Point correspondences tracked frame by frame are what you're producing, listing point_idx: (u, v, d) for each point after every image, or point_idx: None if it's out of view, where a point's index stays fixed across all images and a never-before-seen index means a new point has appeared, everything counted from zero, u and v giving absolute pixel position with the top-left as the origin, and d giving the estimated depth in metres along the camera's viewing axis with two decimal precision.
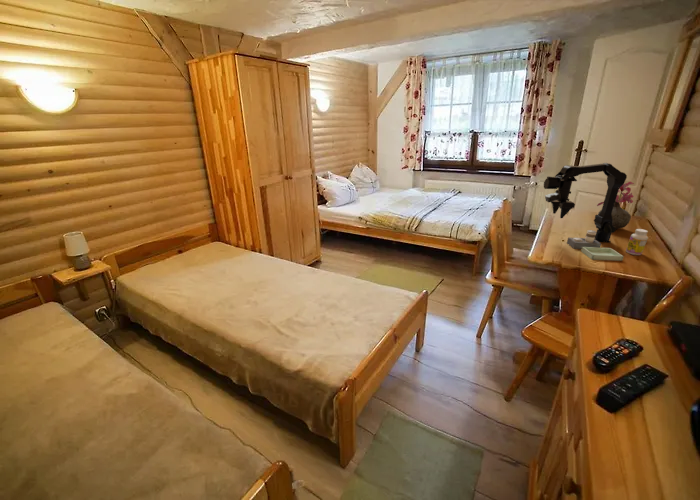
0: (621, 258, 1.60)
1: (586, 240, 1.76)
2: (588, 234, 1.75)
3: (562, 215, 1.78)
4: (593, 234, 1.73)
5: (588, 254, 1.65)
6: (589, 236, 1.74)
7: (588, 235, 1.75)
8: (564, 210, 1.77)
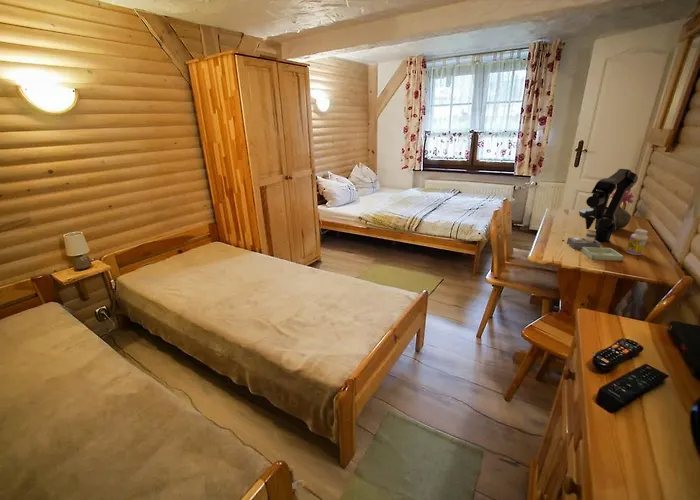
0: (621, 258, 1.60)
1: (586, 240, 1.76)
2: (588, 234, 1.75)
3: (598, 232, 1.69)
4: (593, 234, 1.73)
5: (588, 254, 1.65)
6: (589, 236, 1.74)
7: (588, 235, 1.75)
8: (600, 226, 1.68)
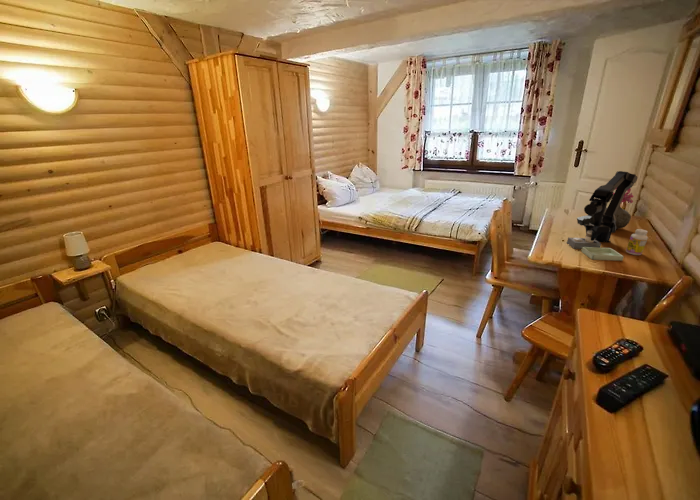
0: (621, 258, 1.60)
1: (586, 240, 1.76)
2: (588, 234, 1.75)
3: (593, 237, 1.73)
4: None
5: (588, 254, 1.65)
6: (589, 236, 1.74)
7: (588, 235, 1.75)
8: (595, 232, 1.71)
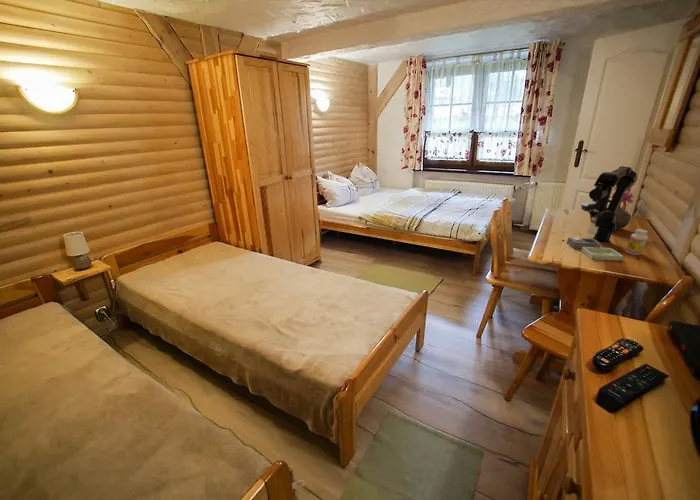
0: (621, 258, 1.60)
1: (590, 227, 1.73)
2: (593, 221, 1.71)
3: (597, 224, 1.70)
4: None
5: (588, 254, 1.65)
6: (593, 222, 1.71)
7: (592, 221, 1.71)
8: (600, 218, 1.68)
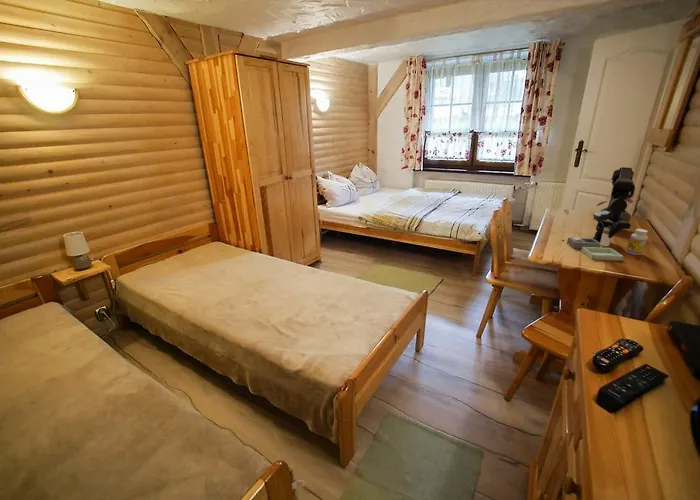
0: (621, 258, 1.60)
1: (603, 237, 1.62)
2: (606, 231, 1.60)
3: (611, 235, 1.59)
4: None
5: (588, 254, 1.65)
6: (606, 233, 1.60)
7: (605, 232, 1.61)
8: (614, 229, 1.57)
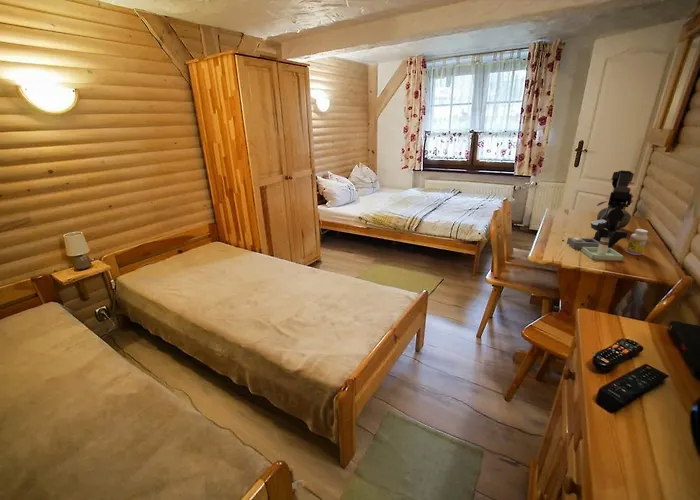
0: (621, 258, 1.60)
1: (599, 248, 1.64)
2: (602, 242, 1.63)
3: (610, 245, 1.59)
4: (607, 242, 1.61)
5: (588, 254, 1.65)
6: (602, 243, 1.63)
7: (602, 243, 1.63)
8: (613, 239, 1.57)
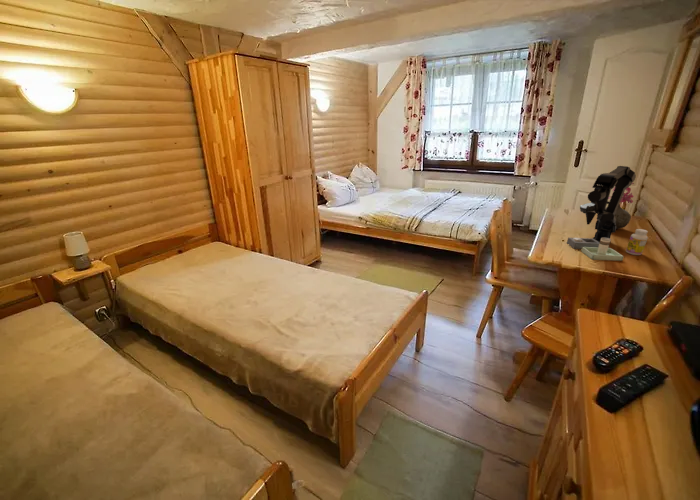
0: (621, 258, 1.60)
1: (600, 248, 1.64)
2: (602, 242, 1.63)
3: (599, 227, 1.66)
4: (607, 242, 1.61)
5: (588, 254, 1.65)
6: (603, 243, 1.63)
7: (602, 243, 1.63)
8: (602, 222, 1.64)
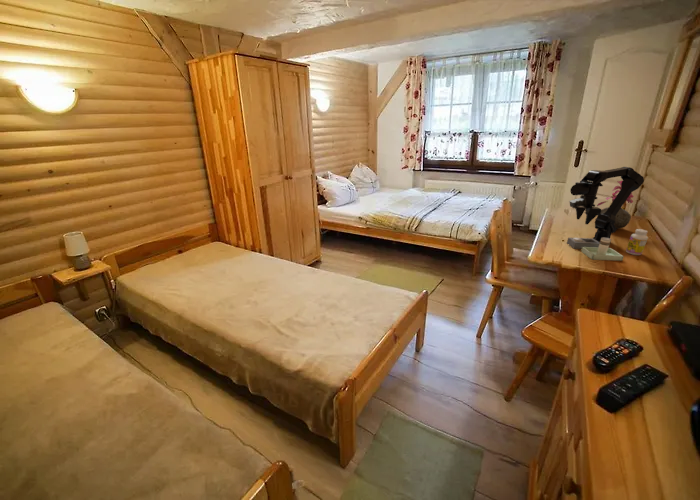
0: (621, 258, 1.60)
1: (600, 248, 1.64)
2: (602, 242, 1.62)
3: (587, 221, 1.74)
4: (607, 242, 1.61)
5: (588, 254, 1.65)
6: (603, 244, 1.62)
7: (602, 243, 1.63)
8: (590, 216, 1.72)
